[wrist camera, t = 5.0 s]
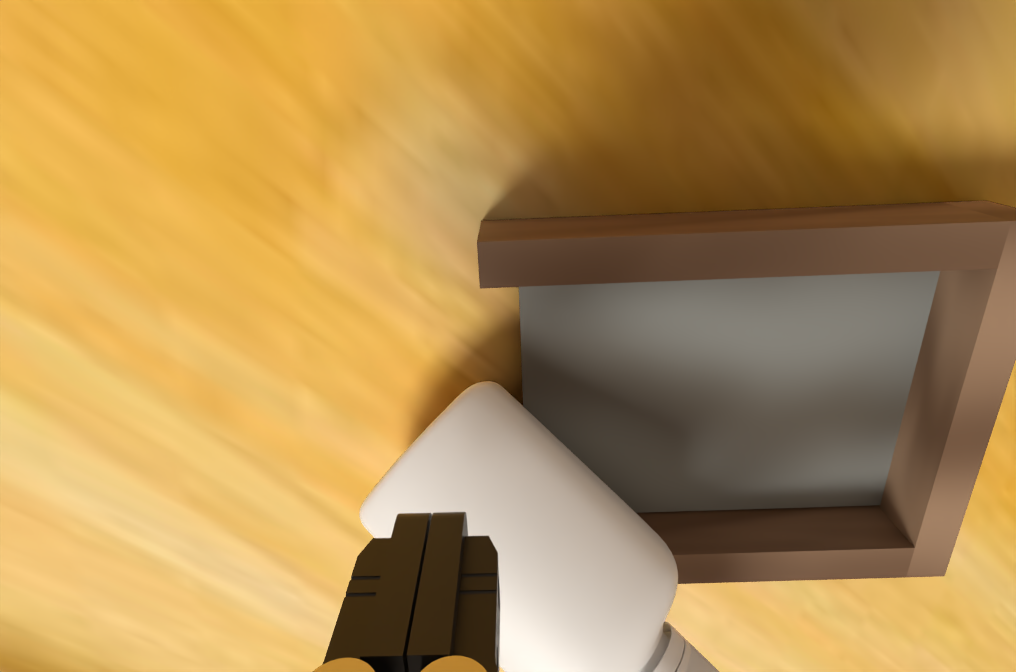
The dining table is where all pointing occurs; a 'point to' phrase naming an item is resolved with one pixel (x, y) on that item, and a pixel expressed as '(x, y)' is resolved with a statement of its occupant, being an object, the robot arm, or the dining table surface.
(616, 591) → the eye dropper bottle
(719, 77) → the dining table surface
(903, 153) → the dining table surface
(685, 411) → the u rest
